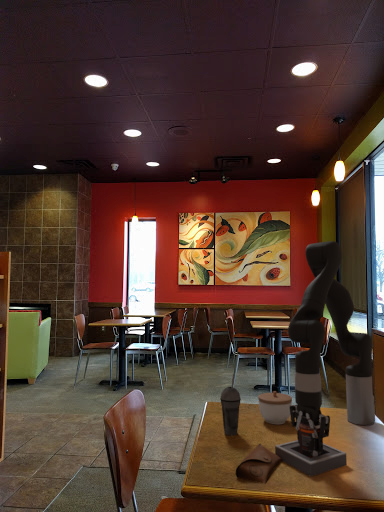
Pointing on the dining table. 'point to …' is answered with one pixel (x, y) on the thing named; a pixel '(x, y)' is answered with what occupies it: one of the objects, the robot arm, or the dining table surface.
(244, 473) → the sunglasses case
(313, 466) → the holder block
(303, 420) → the supplement bottle
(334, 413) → the dining table surface
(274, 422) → the lidded bowl
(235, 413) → the beverage cup
